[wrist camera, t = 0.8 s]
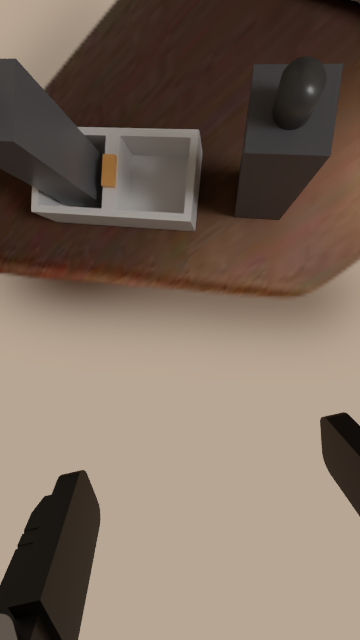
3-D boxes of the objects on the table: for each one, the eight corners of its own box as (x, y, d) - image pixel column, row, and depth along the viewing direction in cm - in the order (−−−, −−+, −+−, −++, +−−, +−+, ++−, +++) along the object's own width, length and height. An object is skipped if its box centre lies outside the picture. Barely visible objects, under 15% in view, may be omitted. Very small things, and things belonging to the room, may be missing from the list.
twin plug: (68, 205, 29) (-93, 118, 14) (70, 162, 29) (-93, 26, 14) (107, 208, 28) (-17, 120, 14) (110, 164, 28) (-15, 24, 13)
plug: (234, 217, 27) (247, 131, 13) (239, 171, 27) (258, 27, 12) (279, 219, 27) (347, 134, 12) (285, 173, 26) (363, 25, 12)
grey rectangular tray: (56, 221, 30) (26, 209, 25) (59, 148, 29) (29, 122, 25) (195, 231, 28) (189, 219, 23) (202, 152, 27) (198, 125, 23)
